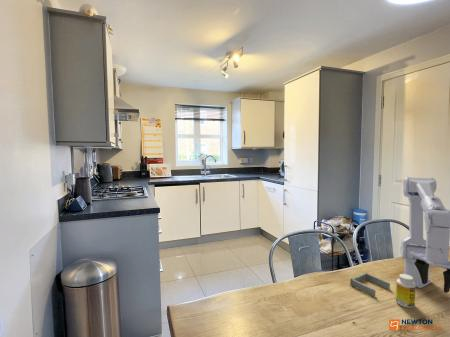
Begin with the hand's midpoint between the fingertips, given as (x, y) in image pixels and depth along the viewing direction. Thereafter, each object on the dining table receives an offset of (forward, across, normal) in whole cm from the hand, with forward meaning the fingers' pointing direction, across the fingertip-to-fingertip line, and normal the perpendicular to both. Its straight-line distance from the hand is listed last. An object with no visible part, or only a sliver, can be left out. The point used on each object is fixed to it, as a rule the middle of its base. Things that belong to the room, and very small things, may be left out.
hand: (435, 287), depth 81 cm
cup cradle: (+10, -20, 0) cm, 23 cm away
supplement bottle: (+11, -8, 0) cm, 14 cm away
